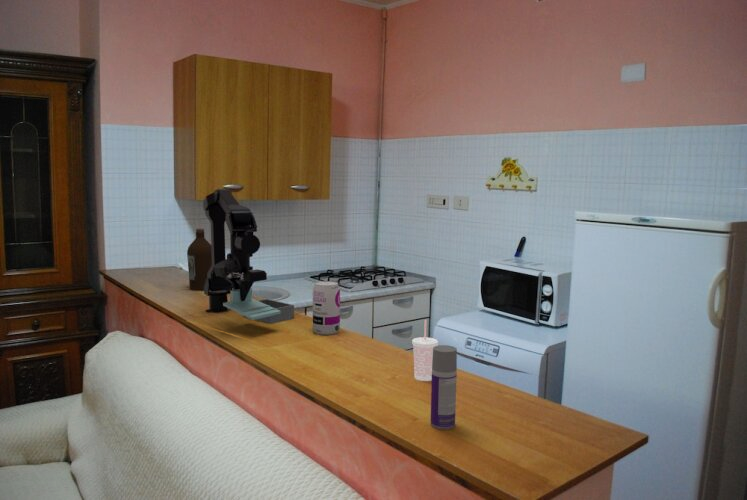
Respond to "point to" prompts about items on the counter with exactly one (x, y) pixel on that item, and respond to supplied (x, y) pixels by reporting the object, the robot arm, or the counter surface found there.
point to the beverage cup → (423, 356)
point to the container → (443, 387)
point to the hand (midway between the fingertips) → (240, 300)
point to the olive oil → (199, 261)
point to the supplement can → (326, 307)
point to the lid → (249, 306)
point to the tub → (285, 309)
